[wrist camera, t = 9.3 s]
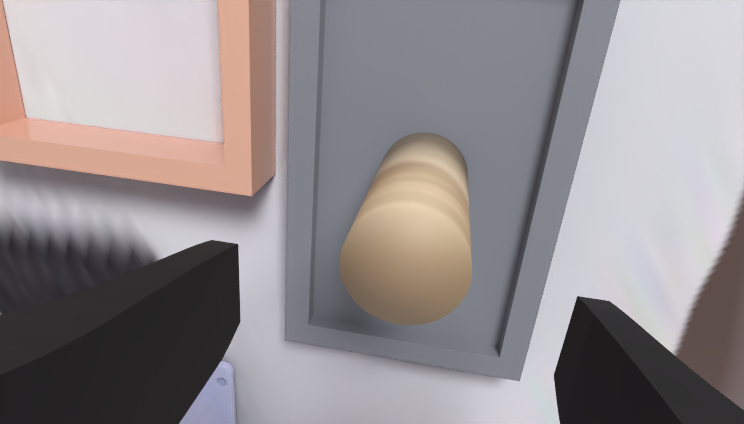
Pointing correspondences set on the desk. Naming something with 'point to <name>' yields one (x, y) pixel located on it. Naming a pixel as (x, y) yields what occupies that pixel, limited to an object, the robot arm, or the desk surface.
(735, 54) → the desk surface
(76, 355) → the robot arm
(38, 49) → the desk surface
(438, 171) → the dowel pin
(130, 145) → the salmon square tray
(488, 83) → the grey tray
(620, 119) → the desk surface
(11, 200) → the desk surface
